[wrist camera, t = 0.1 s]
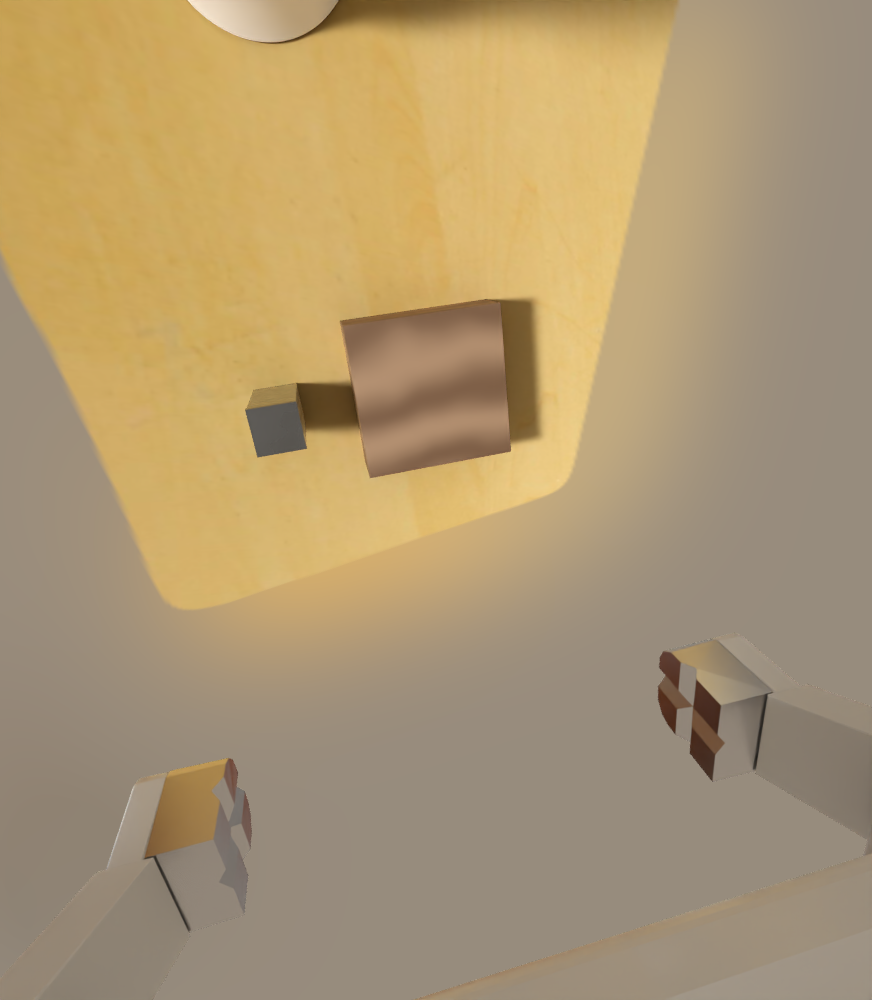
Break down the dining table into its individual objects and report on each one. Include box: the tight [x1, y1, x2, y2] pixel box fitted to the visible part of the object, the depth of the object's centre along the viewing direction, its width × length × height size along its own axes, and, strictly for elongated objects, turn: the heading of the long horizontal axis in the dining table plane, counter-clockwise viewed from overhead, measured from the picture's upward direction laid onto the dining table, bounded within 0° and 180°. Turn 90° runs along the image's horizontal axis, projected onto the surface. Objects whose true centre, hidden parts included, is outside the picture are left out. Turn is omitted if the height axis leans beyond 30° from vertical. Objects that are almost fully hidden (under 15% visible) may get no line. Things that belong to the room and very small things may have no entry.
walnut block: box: [340, 299, 511, 478], centre depth 55 cm, size 14×14×5 cm
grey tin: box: [245, 383, 307, 457], centre depth 51 cm, size 4×4×8 cm
